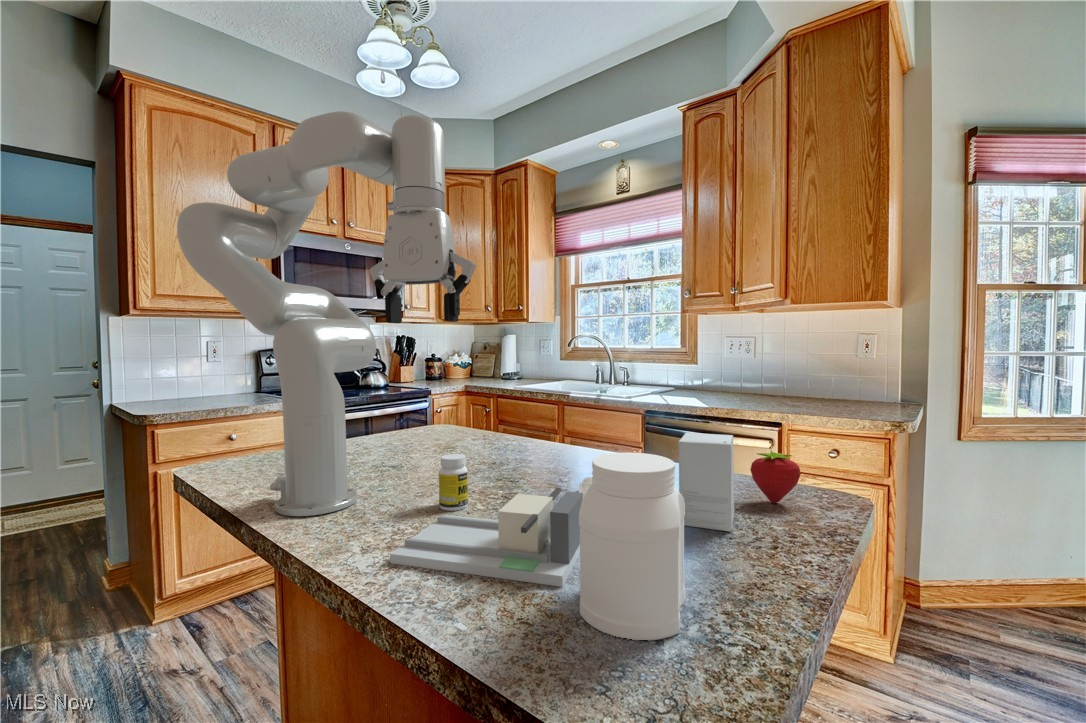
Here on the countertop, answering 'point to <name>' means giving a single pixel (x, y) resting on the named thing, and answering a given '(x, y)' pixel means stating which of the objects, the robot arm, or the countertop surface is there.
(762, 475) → the strawberry
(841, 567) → the countertop surface
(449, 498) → the supplement bottle
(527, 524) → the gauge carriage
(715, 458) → the supplement box
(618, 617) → the jar
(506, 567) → the board
